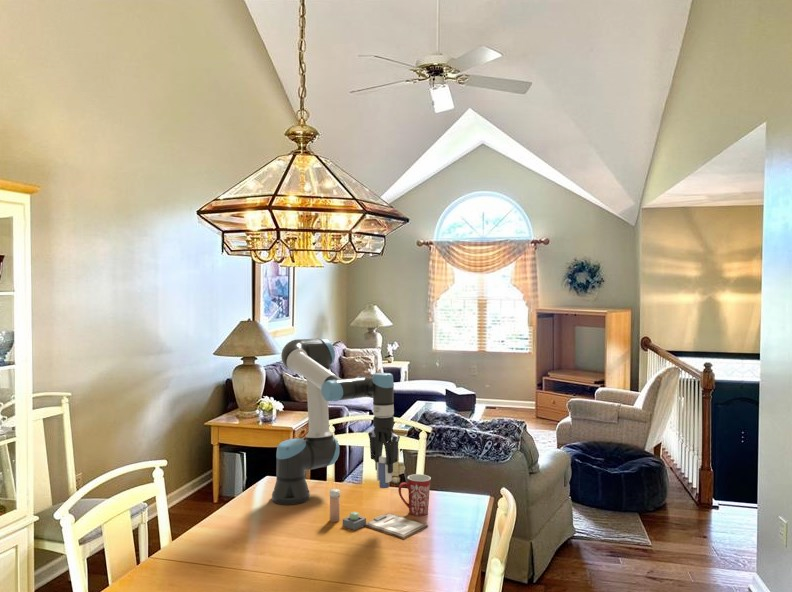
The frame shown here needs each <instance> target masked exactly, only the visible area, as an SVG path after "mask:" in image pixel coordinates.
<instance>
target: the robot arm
mask: <svg viewBox="0 0 792 592" xmlns="http://www.w3.org/2000/svg"><path fill="white" fill-rule="evenodd" d="M281 351H282V352H281V356H280V357H281V358H280V359H281V362H282V363H283V365H284V367H286V368H287V369H288V370H289V371H292V372H296V373H298V374H299V375H300V376H302V377H303V378H305V380H306V393H307V394H306V395H307V397H306V398H307V417H308V418H307V419H308V432H307V433H306V434H305V439H304V438H290V439H286V440H284V441H283V440H282V441H281V442H280V443H279V444H278V445H277V447H276V454H275V457H276V480H275V484H274V488H273V491H272V494H271V501H272V503H275V504H278V505H283V506H285V505H286V506H293V505H299V504H303V503H305V502H307V501H308V500H310V493H311V492H310V490H309V487H308V484H307V479H306V471H311V470H316V469H319V468H326V467H329V466H332V465H333V464H335V463H336V461H337V460H338V458H339V456H340V443H339V440H338V439H337V438H336V437H335V436H334V433H333V432H332V431H331V430H330V418H329V417H330V415H329V414H330V413H329V402H338V401H344V400H353V399H361V398H372V400H373V401H372V404H373V405H372V407H373V409H372V411H373V412H372V413H373V419H372V422H373V425H372V426H373V427H374V429H373V431H369V432H367V435H368V438H369V450H370V459H371V460H373V461H374V462H375V465H374V466H375V471H376V481H377V482H378V481H379V456H381V455H383V449H384V450H385V455H386V460H387V463H386V464H385V482H386V483H388V482H389V483H390V482H393V480H392V479H393V475H392V474H393V472H394V464H395V463H398V460H399V459H398V457H399V441H400V439H401V436H400V435H397V434H395V430H394V426H395V417H394V414H395V407H394V399H395V398H394V395H395V393H394V392H395V391H394V390H395V389H394V387H395V384H394V375H393V373H390V372H376V373H374V374H373V375H372V376H368V375H362V376H361V375H358V376H356V377H352V378H351V377H350V378H341V377H339V376H338V375H336V374H335V373H334V372H332V371H330V370H331V365H333V363H335V359H336V351H335V347H334V345H333V343H331V341H330V340H328V339H327V338H318V337H317V338H307V339H306V338H302V339H299V338H298V339H293V340H291V341H289V342H287V343H286V344H285V345H284V347H283V348H282V350H281ZM383 447H384V448H383Z"/></svg>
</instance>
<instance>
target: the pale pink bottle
mask: <svg viewBox="0 0 792 592" xmlns="http://www.w3.org/2000/svg"><path fill="white" fill-rule="evenodd" d="M340 497H341V489H339V488H332V489H330V490H329V521H330V522H331V523H339V522H340V505H341V504H340V502H341V501H340V500H341V498H340Z"/></svg>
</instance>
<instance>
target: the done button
mask: <svg viewBox="0 0 792 592" xmlns="http://www.w3.org/2000/svg"><path fill="white" fill-rule="evenodd" d="M349 516H350V520H351V521H354V522H355V521H358V520H359V516H360V513H359V512H358V511H352V512H350V513H349Z"/></svg>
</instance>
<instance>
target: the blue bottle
mask: <svg viewBox="0 0 792 592" xmlns="http://www.w3.org/2000/svg"><path fill="white" fill-rule="evenodd" d="M386 463H387V460H386V454H382V455H381V456H379V484H378V487H379V489H389V488H390V482H388V483H386V482H385V464H386Z"/></svg>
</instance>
